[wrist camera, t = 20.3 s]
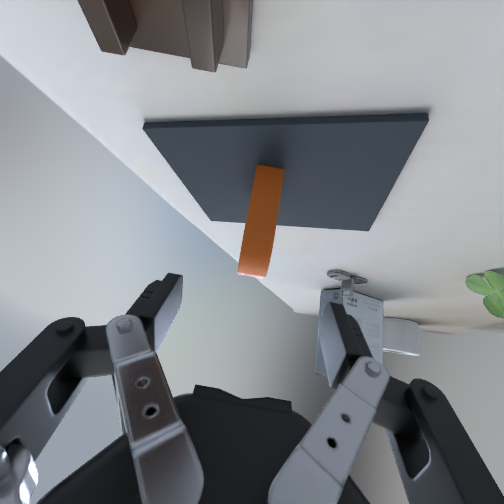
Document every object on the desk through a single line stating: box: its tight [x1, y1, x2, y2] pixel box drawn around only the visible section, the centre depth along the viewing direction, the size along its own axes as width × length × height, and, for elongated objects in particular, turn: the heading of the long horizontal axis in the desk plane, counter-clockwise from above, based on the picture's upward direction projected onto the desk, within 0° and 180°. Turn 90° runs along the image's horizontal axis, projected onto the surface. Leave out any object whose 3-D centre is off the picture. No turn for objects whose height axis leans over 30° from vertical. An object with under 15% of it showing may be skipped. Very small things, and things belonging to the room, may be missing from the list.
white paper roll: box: [383, 317, 420, 355], centre depth 93 cm, size 16×15×11 cm
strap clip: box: [327, 271, 367, 298], centre depth 50 cm, size 8×3×4 cm, turn 63°
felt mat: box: [143, 114, 429, 231], centre depth 25 cm, size 20×16×1 cm
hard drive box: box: [315, 289, 383, 378], centre depth 63 cm, size 16×8×20 cm, turn 59°
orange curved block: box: [238, 164, 284, 279], centre depth 23 cm, size 6×2×9 cm, turn 177°
